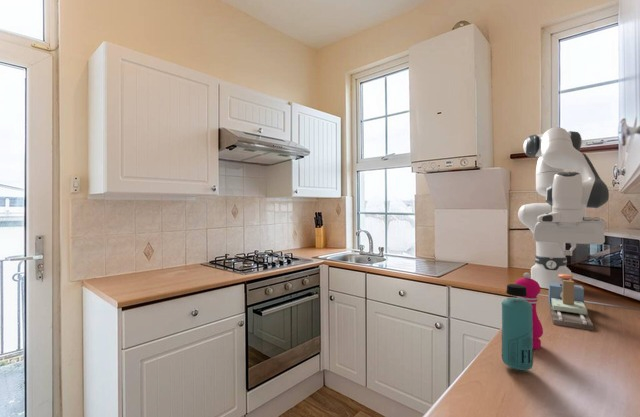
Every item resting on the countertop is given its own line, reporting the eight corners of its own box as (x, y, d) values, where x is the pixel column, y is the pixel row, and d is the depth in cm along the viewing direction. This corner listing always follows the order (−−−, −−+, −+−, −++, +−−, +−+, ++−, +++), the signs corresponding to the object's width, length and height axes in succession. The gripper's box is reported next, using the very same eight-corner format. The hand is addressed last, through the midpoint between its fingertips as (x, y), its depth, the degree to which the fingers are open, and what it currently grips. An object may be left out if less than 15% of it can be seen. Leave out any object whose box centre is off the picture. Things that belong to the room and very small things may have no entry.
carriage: (551, 302, 118) (551, 276, 118) (582, 306, 113) (582, 279, 113) (553, 309, 110) (553, 282, 110) (587, 314, 105) (587, 285, 105)
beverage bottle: (522, 379, 71) (522, 290, 70) (494, 366, 77) (494, 283, 76) (540, 372, 74) (540, 286, 73) (512, 360, 80) (512, 280, 79)
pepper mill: (533, 339, 91) (533, 270, 91) (549, 350, 84) (549, 275, 84) (507, 338, 92) (507, 269, 92) (520, 349, 85) (520, 275, 85)
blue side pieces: (548, 302, 125) (548, 282, 124) (581, 307, 119) (581, 285, 119) (549, 307, 119) (549, 285, 119) (584, 311, 114) (584, 289, 114)
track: (549, 306, 120) (549, 301, 120) (583, 311, 114) (583, 305, 114) (553, 324, 103) (553, 317, 103) (593, 330, 97) (593, 323, 97)
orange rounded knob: (557, 286, 122) (557, 273, 122) (572, 287, 120) (572, 274, 120) (558, 288, 119) (558, 275, 119) (573, 290, 116) (573, 277, 116)
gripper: (603, 216, 111) (603, 256, 111) (533, 216, 122) (533, 251, 123) (607, 218, 106) (607, 259, 106) (533, 217, 117) (533, 254, 117)
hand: (566, 255), depth 114 cm, fingers closed
